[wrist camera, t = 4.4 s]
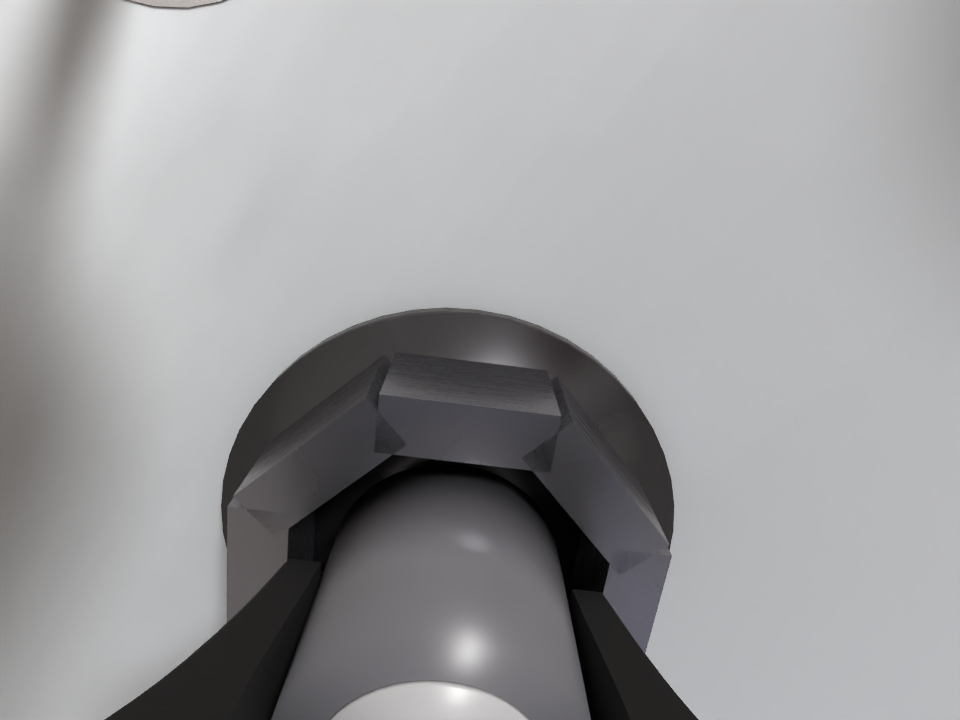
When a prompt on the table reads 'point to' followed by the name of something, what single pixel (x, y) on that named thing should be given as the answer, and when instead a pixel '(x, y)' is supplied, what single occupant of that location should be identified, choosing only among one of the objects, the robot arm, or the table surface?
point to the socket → (453, 448)
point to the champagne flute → (176, 2)
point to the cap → (439, 609)
